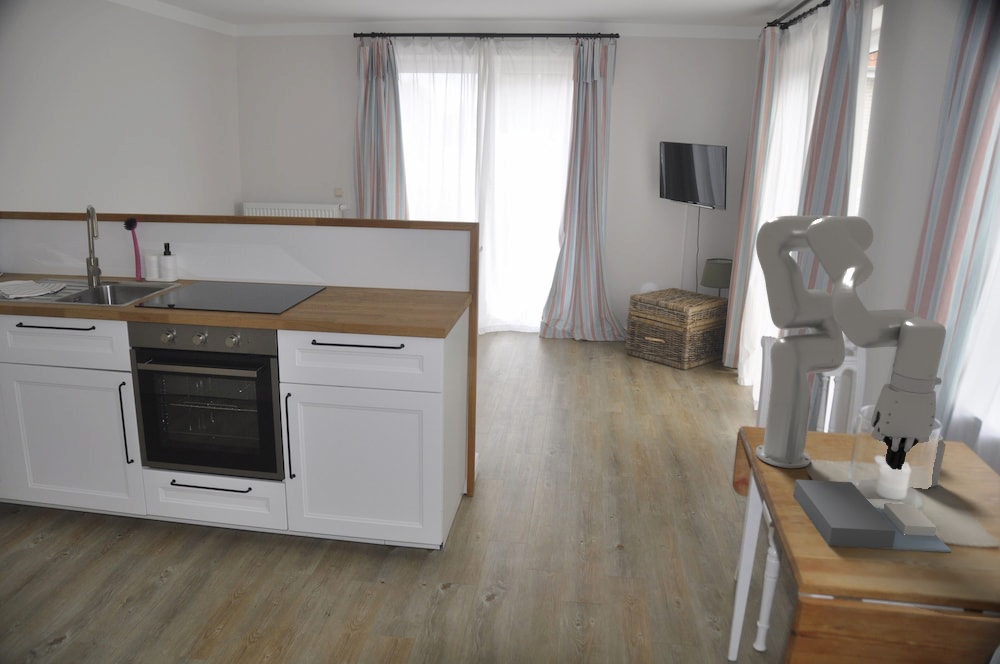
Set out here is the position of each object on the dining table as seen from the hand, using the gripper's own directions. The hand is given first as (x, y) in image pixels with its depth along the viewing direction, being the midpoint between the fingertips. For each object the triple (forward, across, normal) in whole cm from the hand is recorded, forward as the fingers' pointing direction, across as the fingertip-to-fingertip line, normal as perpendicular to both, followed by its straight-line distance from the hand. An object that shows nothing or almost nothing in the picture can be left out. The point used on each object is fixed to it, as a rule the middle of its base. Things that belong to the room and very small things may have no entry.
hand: (893, 466), depth 141 cm
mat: (+12, -2, +1) cm, 13 cm away
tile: (+10, -4, +2) cm, 11 cm away
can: (+13, -17, -19) cm, 28 cm away
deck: (+13, +9, +1) cm, 16 cm away
